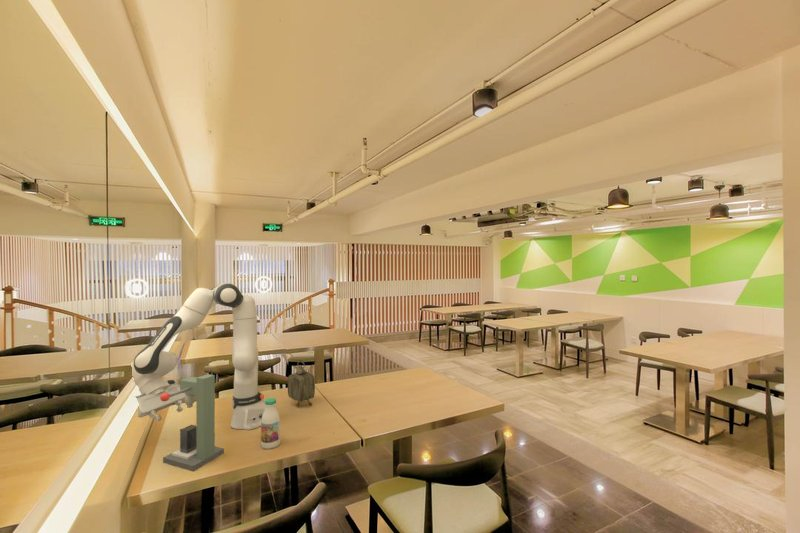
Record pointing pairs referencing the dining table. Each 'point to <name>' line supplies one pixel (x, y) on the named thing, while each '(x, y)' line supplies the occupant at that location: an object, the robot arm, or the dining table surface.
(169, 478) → the dining table surface
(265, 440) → the milk bottle
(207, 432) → the press
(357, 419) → the dining table surface
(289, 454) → the dining table surface
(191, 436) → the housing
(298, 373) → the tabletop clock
